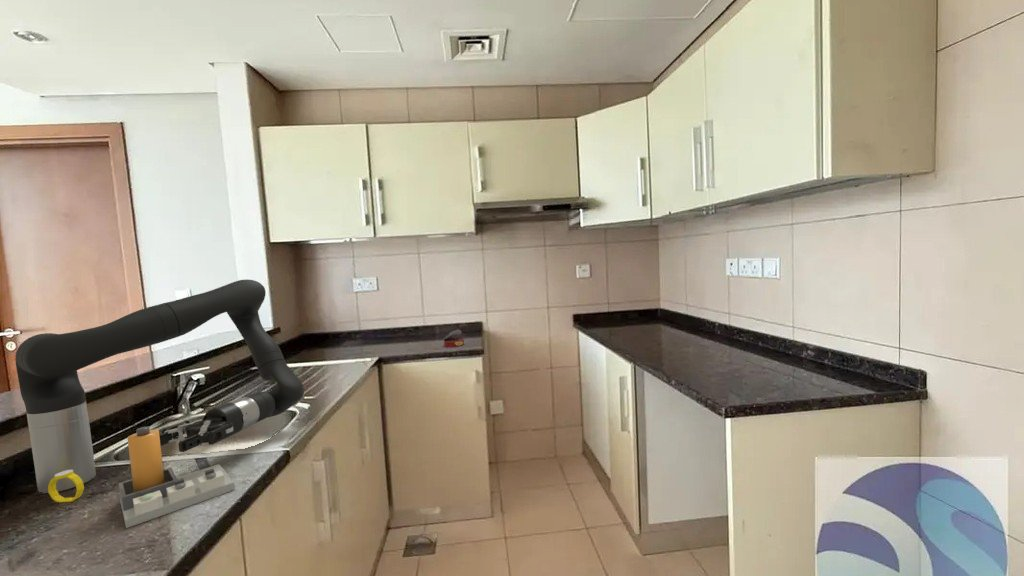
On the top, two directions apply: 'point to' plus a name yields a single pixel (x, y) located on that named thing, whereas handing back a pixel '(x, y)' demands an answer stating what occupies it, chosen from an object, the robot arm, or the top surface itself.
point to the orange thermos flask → (145, 459)
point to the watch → (70, 475)
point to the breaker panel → (183, 502)
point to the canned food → (453, 339)
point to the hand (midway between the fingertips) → (164, 446)
